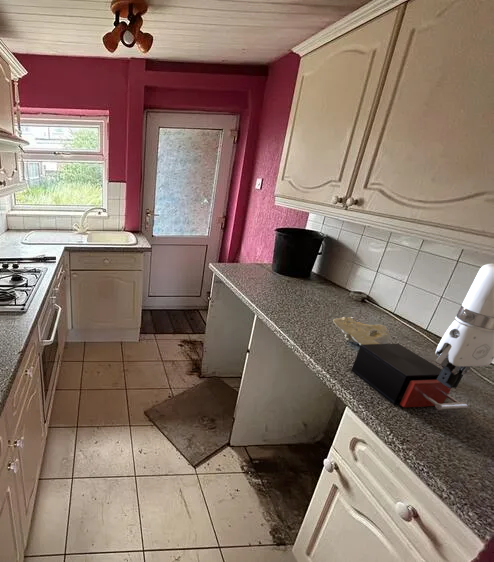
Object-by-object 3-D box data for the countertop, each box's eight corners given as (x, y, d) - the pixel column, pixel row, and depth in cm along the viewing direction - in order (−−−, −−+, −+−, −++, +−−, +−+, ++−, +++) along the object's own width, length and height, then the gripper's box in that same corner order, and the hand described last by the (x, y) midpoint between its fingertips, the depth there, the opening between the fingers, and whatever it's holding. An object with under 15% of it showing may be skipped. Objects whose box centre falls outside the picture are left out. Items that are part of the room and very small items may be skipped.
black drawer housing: (435, 402, 85) (450, 374, 82) (393, 404, 84) (406, 375, 80) (387, 369, 99) (398, 343, 95) (351, 370, 97) (360, 344, 94)
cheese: (394, 359, 107) (377, 319, 114) (401, 353, 101) (383, 311, 109) (342, 362, 112) (329, 324, 120) (346, 357, 107) (332, 317, 114)
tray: (466, 422, 77) (481, 398, 75) (425, 425, 76) (438, 400, 74) (395, 373, 95) (405, 351, 92) (361, 374, 94) (370, 352, 91)
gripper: (471, 327, 66) (434, 395, 72) (531, 326, 67) (490, 393, 74) (434, 310, 73) (404, 374, 79) (490, 310, 74) (456, 373, 81)
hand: (446, 383), depth 77 cm, fingers closed
